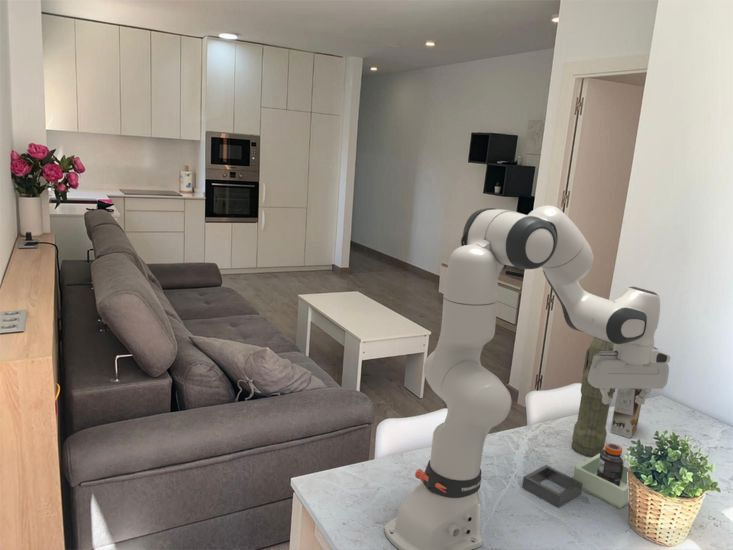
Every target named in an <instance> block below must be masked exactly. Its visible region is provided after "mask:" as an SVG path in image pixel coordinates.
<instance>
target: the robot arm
mask: <svg viewBox="0 0 733 550" xmlns="http://www.w3.org/2000/svg"><path fill="white" fill-rule="evenodd" d="M460 244H461V246H459V247H457V248H455V249H454V251H452V252H451V254H450V257H449V260H448V263H447V269H446V273H445V280H444V284H443V285H444V288H443V298H442V300H443V301H442V313H441V314H442V318H441V327H440V333H439V338H438V340H437V341H438V342H437V344H436V346H435V349H434V351H432V352H431V353H430V354H429V355H428V356H427V357H426V359H425V361H424V364H423V374H424V377H425V379H426V381H427V383H428V385H429V387H430V388H431V390H432V391H433V392H434V393H435V394H436V395H437V396H438V397H439V398H440V399H441V400H442V401H444V402H445V404H446V408H447V409H446V410H447V413H446V416H445V419H444V422H442V423H440V424H439V425H437V426H436V427H434V428H435V429H434V430H433V433H432V442H431V450H430V459H429V461H428V462H427V465H426V466H425V470H424V471H423V469H420V468H417V470H416V471H415V474H414V477H415V478H416V479H419V480H420V482H419V483H418V484H417V485H416V486H415V488H414V489H413V490H412V491H411V492H410V493H409V495H407V497H406V498H405V499H404V500H403V501H402V503H401V504H399V508H398V510H397V513H396V516H395V517H394V518H392V519H391V520H389V522H387V523H385V525H384V528H383V531H384V534H385V536H386V538H387V539H388V540H389V541H390V542H391V544H392V545H393V546H394V547H395V548H397V550H474V549H478V548H480V547H482V546H483V537H482V535H481V511H482V510H481V503H480V501H481V500H480V497H479V490H480V489H481V484H482V478H483V477H482V468H481V465H482V457H483V452H484V445H485V442H486V439H487V437H488V434H489V432H490V431H491V429H492V428H494V427H496V426H497V427H498V426H499V425H500V424H502V422H504V421H505V419H506V418H507V416H508V415H509V413H510V410H511V407H512V397H511V394H510V391H509V390H508V388H507V387H506V386H505V384H504V383H503V382H502V381H501V379H499V377H498V376H497V375H495V374H494V373H493V372H491V371H490V370H488V369H487V368H485V367H484V366H483V365H482V364H481V356H482V355H481V354H482V351H483V348H484V346H485V344H487V343H489V342H491V340H493V338H494V336H495V333H496V322H497V310H498V309H497V308H498V290H499V288H498V287H499V286H498V285H499V283H498V280H499V277H500V273H501V271H502V270H503V268H504V267H505V266H509V267H515V268H516V269H517V268H518V269H521V270H536V269H539V268H541V269H542V272H543V275H544V277H545V278H546V279H545V280H546V281H547V283H548V285H549V286H550V288H551V290H552V291H553V293H554V295H555V296H556V298H557V300H558V302H559V303H560V305H561V308H562V313H563V317H564V321H565V323H566V325H568V327H569V328H571V329H572V330H574V331H575V330H576V331H577V332H581V333H586V334H588V335H590V336H593V337H597V338H599V339H602V340H605V341H607V342H610V343H614V347H613V351H600V352H599V353H597V354H595V355H594V356H593V360H592V365H591V367H590V371H589V374H588V382H589V384H590V385H592V386H593V387H595V388H600V391H601V394H602V396H603V397H602V403H604V404H610V405H611V404H612V400H613V398H611V397H609V396H608V393H607V392H609V391H610V388H615V389H618V388H621V389H642V391H641V393H640V394H639V396H636V399H635V402H636V403H638V404H641V405H645V403H646V399H647V398H648V397H649V396H650V394H651V393H652V389H654V390H655V389H657V390H659V389H661V390H663V389H664V388H665V387H666V386H667V384H668V379H669V375H670V374H669V372H670V367H669V364H668V363H670V361H671V355H670V354H668V352H665V351H663V350H661V349H660V348H657V347H655V333H656V331H657V329H658V325H659V320H660V314H661V299H660V295H658V294H657V292H655V291H652V290H648V289H645V288H640V287H637V286H628V287H627V288H626V289H625V292H624V294H623V295H621V296H620V297H618V298H616V299H613V300H611V299H607V298H604V297H601V296H598V295H595V294H594V293H591V292H588V291H586V290H585V289H583V287H582V286H581V284H580V283H579V282H580V280H582V279H584V277H586V276H587V275H588V273H589V272H590V270H591V269H592V267H593V262H594V259H595V257H594V254H593V250H592V247H591V245H590V244H589V242H588V240H587V239H586V238H585V236H584V234H583V233H582V232H581V230H580V229H579V228H578V227H577V225H576V224H575V223H574V222H573V220H571V218H569V216H568V215H566V213H565V212H563V211H562V210H561V209H560V208H558V207H556V206H554V205H548V204H547V205H541V206H539V207H536V208H535V209H533V210H531V211H530V212H529V213H528V214H524V213H521V212H518V211H515V210H509V209H499V208H498V209H497V208H494V207H493V208H492V207H488V208H487V207H486V208H482V209H481V208H480V209H478V210H475V211H474V212H473V213H472V214H471V215H470V216H468V219H467V221H466V222H465V225H464V228H463V232H462V237H461V240H460ZM598 354H599V355H598Z"/></svg>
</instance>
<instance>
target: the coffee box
mask: <svg viewBox="0 0 733 550" xmlns="http://www.w3.org/2000/svg"><path fill="white" fill-rule="evenodd" d="M641 391H642V389H621V388H617V394H616V399H615V404H614V409H613V415H612V421H611V426H610V430H609V432H610V433H612V434H616V435H618V436H621V437H625V438H626V439H627V438H628V439H631V438H632V437H633V435H634V433H635V432H636V431H637V428H638V425H639V418H640V414H641V413H640V412H641V406H642V404H638V403H636V402H635V399H636V396H639V394H640V393H641Z"/></svg>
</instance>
